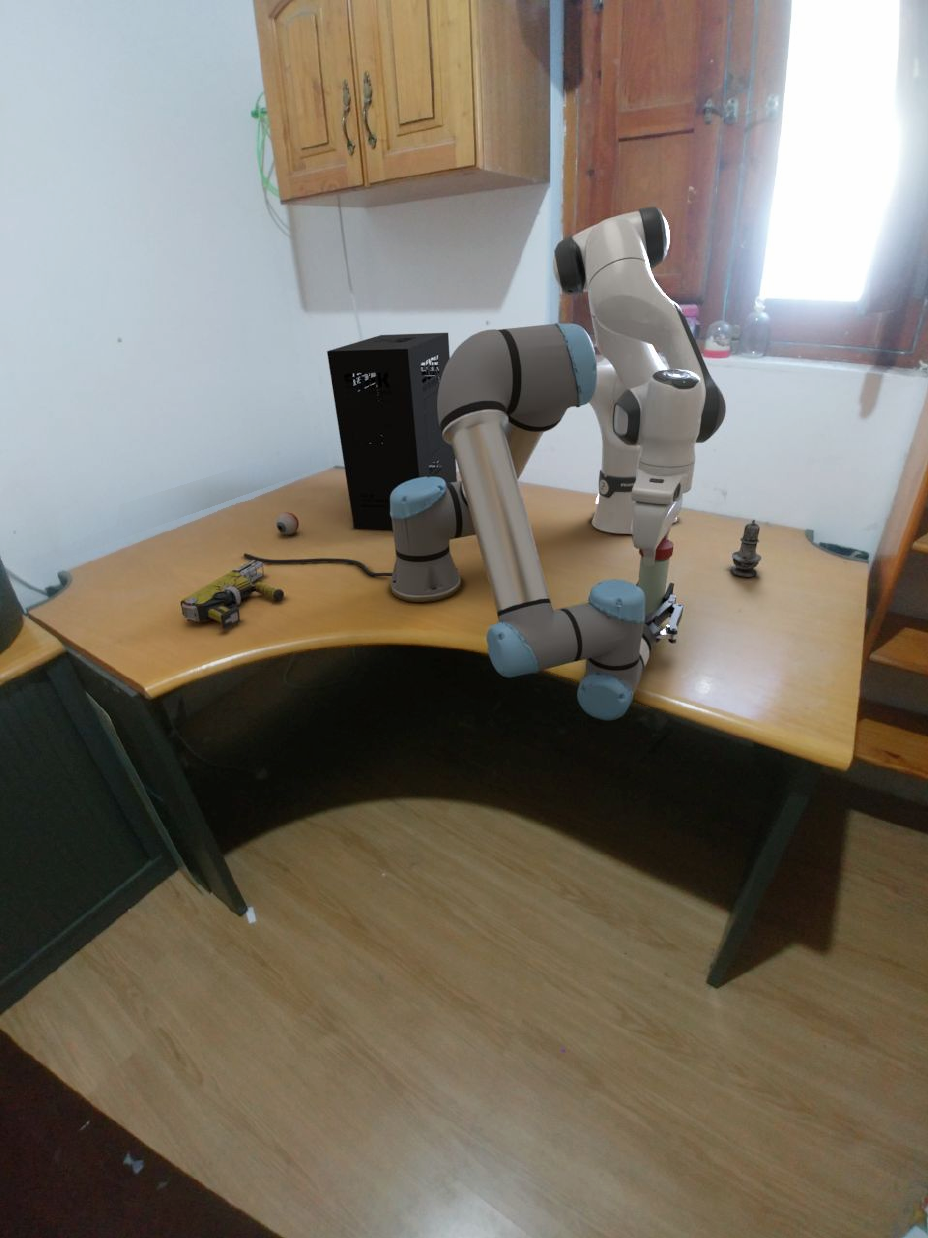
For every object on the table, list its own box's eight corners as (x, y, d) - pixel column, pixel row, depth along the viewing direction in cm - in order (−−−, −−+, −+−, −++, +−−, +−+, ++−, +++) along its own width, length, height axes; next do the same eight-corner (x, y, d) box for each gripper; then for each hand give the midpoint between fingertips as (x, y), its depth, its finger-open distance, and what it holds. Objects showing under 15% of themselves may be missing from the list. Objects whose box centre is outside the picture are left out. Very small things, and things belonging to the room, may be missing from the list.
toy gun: (305, 569, 137) (249, 557, 141) (237, 616, 117) (174, 600, 121) (306, 587, 139) (251, 575, 143) (240, 636, 119) (178, 621, 123)
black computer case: (424, 530, 162) (407, 348, 139) (353, 528, 166) (326, 351, 144) (457, 486, 193) (448, 332, 171) (397, 485, 198) (380, 334, 175)
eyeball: (273, 537, 164) (268, 516, 161) (287, 528, 169) (282, 508, 166) (291, 539, 161) (286, 518, 158) (305, 530, 166) (301, 510, 163)
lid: (657, 544, 109) (658, 534, 108) (679, 555, 105) (680, 545, 104) (632, 551, 107) (633, 541, 106) (653, 562, 103) (655, 552, 102)
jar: (665, 630, 113) (677, 548, 104) (645, 637, 111) (655, 554, 103) (647, 619, 116) (656, 539, 108) (627, 626, 115) (635, 545, 106)
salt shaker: (760, 577, 128) (772, 524, 122) (731, 576, 130) (741, 524, 124) (755, 566, 133) (766, 514, 127) (726, 565, 135) (736, 514, 129)
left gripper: (571, 656, 102) (607, 596, 120) (681, 680, 95) (702, 612, 113) (573, 618, 99) (610, 562, 116) (687, 640, 91) (708, 576, 109)
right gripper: (659, 458, 108) (651, 531, 115) (628, 493, 93) (621, 574, 100) (696, 462, 106) (685, 535, 112) (670, 498, 90) (660, 581, 97)
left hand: (655, 587), depth 115 cm, fingers closed on jar, 5 cm apart
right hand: (655, 554), depth 106 cm, fingers open, 8 cm apart
